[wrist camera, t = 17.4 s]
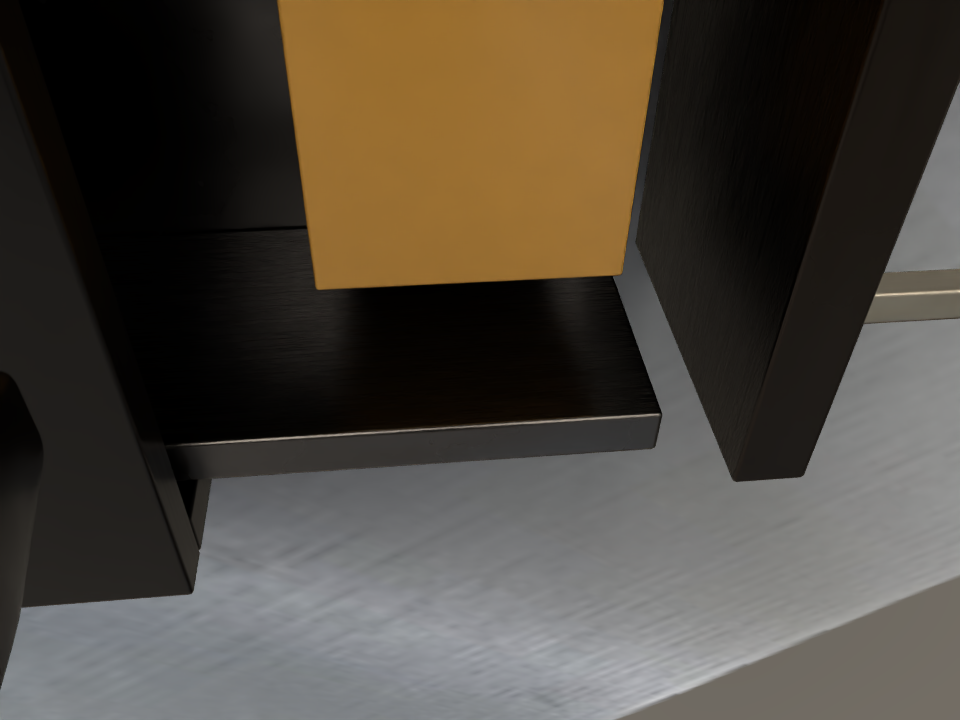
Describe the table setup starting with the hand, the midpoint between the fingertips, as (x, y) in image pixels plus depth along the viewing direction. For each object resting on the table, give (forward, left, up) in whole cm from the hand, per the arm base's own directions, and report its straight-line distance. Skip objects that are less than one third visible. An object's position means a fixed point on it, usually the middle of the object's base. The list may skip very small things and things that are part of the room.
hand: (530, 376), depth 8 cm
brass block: (0, 0, -9) cm, 9 cm away
